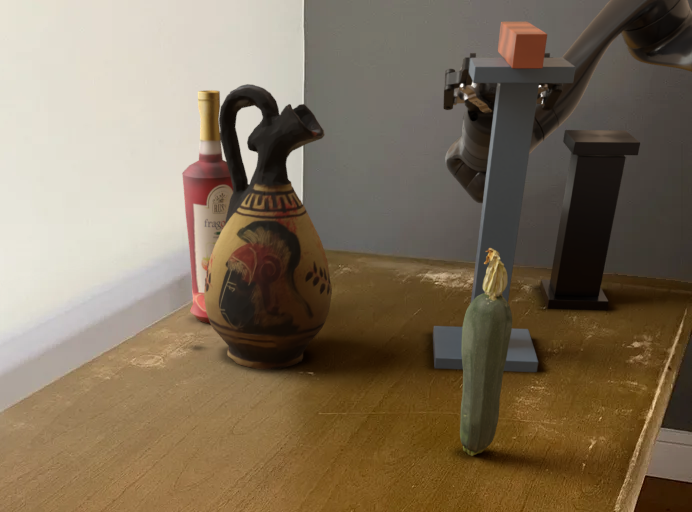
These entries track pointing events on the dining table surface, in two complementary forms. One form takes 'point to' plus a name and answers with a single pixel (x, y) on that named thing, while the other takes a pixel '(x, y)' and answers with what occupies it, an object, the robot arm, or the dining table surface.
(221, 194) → the liquor
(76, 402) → the dining table surface
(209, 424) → the dining table surface
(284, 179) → the ceramic jug
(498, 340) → the vegetable
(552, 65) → the blue display stand
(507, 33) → the orange rectangular block
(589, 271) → the pedestal
